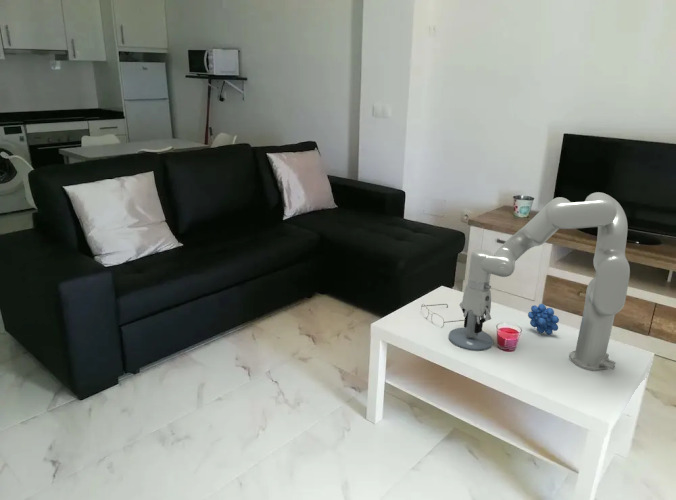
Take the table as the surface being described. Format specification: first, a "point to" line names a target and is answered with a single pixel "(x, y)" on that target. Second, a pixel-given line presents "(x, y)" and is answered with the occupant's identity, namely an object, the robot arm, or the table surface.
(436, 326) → the table surface
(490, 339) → the dish
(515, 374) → the table surface
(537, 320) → the grapes
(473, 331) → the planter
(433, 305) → the eyeglasses
